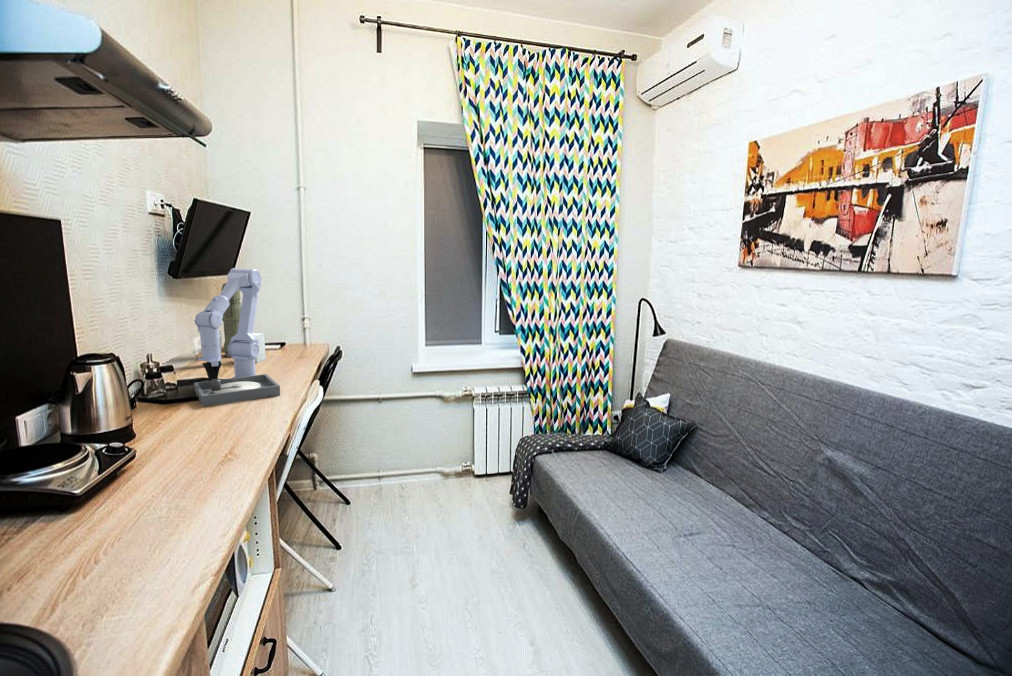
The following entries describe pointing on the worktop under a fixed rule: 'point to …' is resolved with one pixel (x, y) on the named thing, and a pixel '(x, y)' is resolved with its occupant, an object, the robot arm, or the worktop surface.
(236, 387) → the dial
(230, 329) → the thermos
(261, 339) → the supplement box
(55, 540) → the worktop surface
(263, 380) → the bezel plate
